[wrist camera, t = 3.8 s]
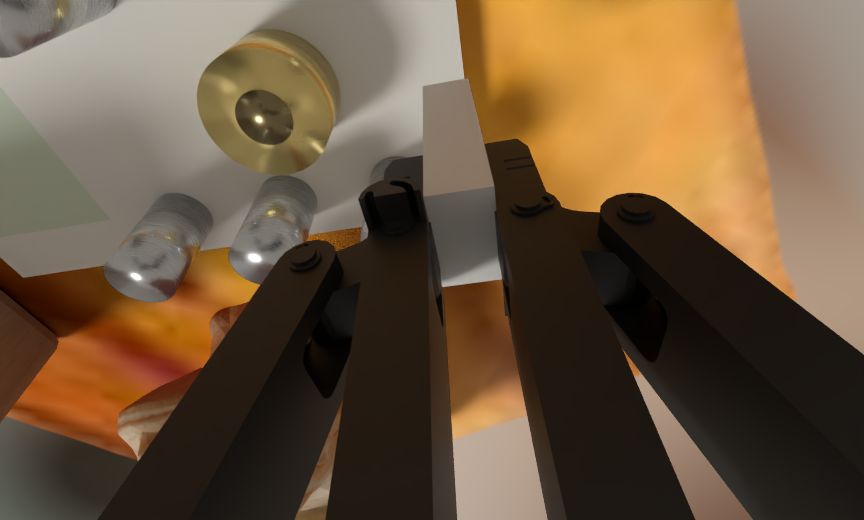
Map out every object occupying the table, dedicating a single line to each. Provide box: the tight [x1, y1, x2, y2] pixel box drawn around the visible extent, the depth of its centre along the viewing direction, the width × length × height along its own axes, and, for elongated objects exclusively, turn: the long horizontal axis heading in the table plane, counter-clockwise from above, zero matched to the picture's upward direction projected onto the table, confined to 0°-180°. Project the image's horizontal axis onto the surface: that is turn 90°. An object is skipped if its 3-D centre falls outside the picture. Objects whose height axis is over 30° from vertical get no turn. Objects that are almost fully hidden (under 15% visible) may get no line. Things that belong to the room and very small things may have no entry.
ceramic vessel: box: [117, 302, 343, 520], centre depth 29 cm, size 14×26×15 cm, turn 12°
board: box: [0, 0, 464, 278], centre depth 20 cm, size 16×28×1 cm, turn 99°
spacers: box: [0, 0, 407, 302], centre depth 17 cm, size 14×17×5 cm
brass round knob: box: [197, 29, 341, 175], centre depth 18 cm, size 5×5×3 cm
